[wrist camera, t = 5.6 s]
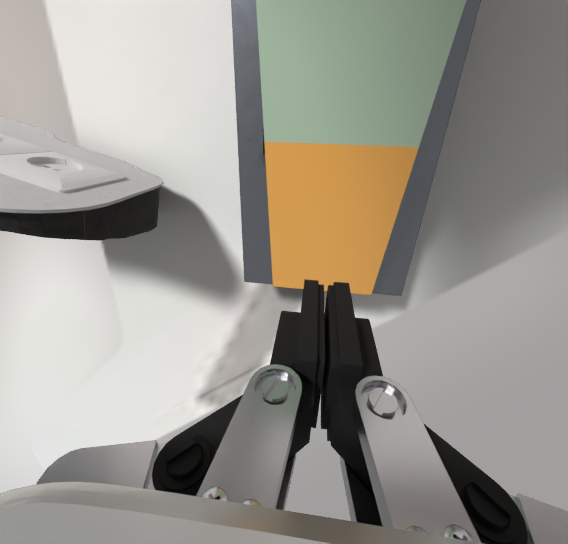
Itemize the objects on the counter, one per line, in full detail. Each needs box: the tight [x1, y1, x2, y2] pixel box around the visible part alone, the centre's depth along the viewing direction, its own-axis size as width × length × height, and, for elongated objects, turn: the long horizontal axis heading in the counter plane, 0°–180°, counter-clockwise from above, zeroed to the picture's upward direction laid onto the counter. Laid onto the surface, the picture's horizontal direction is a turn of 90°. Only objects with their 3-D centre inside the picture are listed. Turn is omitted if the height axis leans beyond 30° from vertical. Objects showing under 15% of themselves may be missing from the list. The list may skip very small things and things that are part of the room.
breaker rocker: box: [256, 0, 466, 295], centre depth 13 cm, size 20×7×2 cm, turn 179°
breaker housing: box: [231, 0, 481, 296], centre depth 17 cm, size 21×12×8 cm, turn 178°
